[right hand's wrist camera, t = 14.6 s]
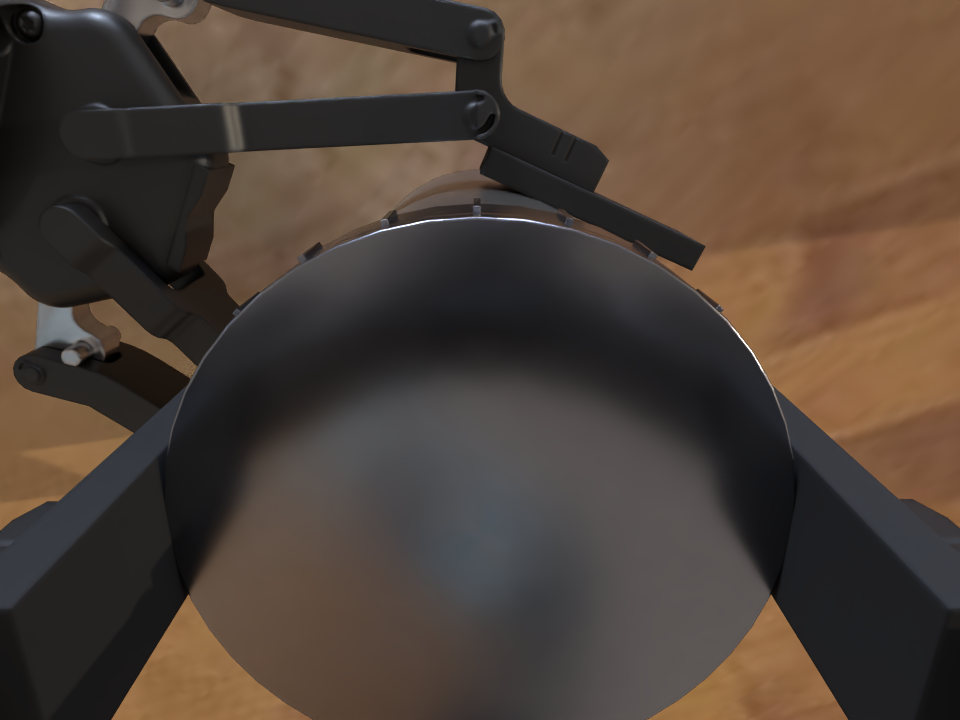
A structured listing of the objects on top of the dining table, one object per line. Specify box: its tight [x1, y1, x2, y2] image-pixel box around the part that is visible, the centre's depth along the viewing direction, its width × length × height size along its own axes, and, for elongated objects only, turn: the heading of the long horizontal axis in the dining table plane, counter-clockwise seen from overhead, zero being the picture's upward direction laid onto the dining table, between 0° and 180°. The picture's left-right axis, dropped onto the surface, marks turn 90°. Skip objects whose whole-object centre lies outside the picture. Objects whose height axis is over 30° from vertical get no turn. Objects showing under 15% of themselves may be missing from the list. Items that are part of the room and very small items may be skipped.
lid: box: [164, 198, 796, 720], centre depth 11 cm, size 10×10×2 cm
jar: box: [393, 170, 574, 218], centre depth 19 cm, size 9×9×16 cm
